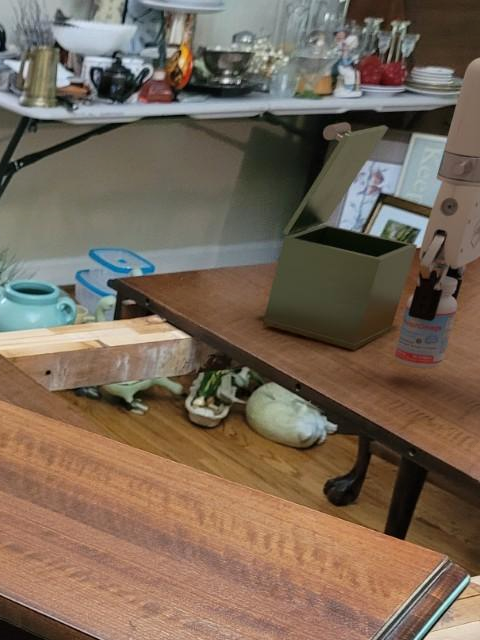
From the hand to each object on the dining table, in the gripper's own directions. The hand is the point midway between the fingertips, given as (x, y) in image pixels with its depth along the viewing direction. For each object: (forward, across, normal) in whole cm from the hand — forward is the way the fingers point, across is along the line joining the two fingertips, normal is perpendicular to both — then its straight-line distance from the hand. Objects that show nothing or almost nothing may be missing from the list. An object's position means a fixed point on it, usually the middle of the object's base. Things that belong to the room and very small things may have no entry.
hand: (431, 311), depth 145 cm
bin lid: (-11, +17, +23) cm, 31 cm away
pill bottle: (+7, 0, 0) cm, 7 cm away
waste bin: (+10, +17, +20) cm, 28 cm away
